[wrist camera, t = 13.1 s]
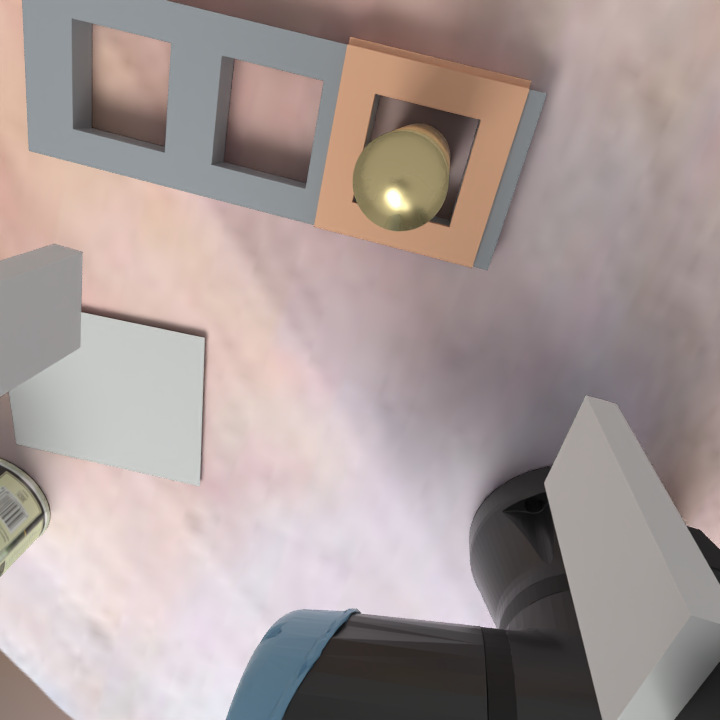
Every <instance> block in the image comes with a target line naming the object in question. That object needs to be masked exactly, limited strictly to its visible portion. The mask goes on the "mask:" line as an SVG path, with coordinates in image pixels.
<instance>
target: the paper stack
mask: <svg viewBox="0 0 720 720" xmlns="http://www.w3.org/2000/svg"><path fill="white" fill-rule="evenodd" d="M204 348H205V338H204V337H199V336H194V335H189V334H184V333H180V332H175V331H170V330H165V329H160V328H156V327H151V326H146V325H141V324H136V323H132V322H127V321H122V320H117V319H112V318H108V317H103V316H98V315H93V314H88V313H84V312H81V343H80V348H79V349H77V350H76V351H74V352H72V353H71V354H69V355H67V356H66V357H64V358H63V359H61V360H59V361H58V362H56V363H54V364H53V365H51V366H50V367H48V368H46V369H45V370H43V371H41V372H40V373H38V374H36V375H35V376H33V377H32V378H30V379H28V380H27V381H25V382H23V383H22V384H20V385H19V386H17V387H15V388H14V389H12V390H10V391H9V396H10V403H11V410H12V417H13V424H14V431H15V438H16V444H17V445H21V446H26V447H30V448H35V449H39V450H43V451H48V452H52V453H56V454H61V455H65V456H69V457H74V458H78V459H83V460H87V461H91V462H96V463H100V464H104V465H109V466H113V467H117V468H122V469H126V470H131V471H135V472H139V473H144V474H148V475H152V476H157V477H161V478H165V479H170V480H174V481H179V482H183V483H187V484H192V485H196V486H200V468H201V438H202V408H203V378H204Z"/></svg>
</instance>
